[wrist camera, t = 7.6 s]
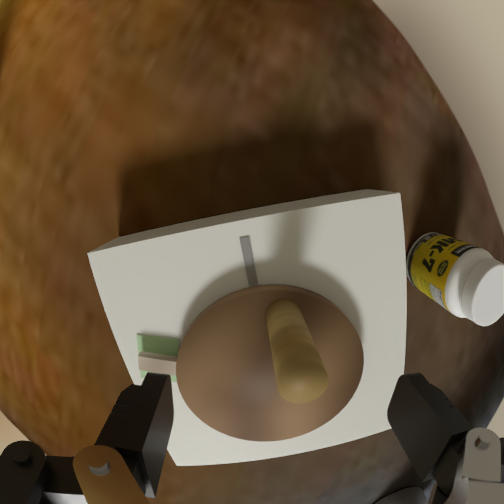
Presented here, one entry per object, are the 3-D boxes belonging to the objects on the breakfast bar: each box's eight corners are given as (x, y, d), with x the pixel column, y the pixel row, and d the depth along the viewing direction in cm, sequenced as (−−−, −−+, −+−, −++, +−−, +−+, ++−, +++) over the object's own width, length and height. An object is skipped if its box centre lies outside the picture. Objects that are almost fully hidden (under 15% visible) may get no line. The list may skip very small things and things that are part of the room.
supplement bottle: (436, 219, 21) (508, 240, 13) (457, 263, 22) (523, 296, 14) (394, 257, 22) (458, 295, 14) (418, 300, 23) (478, 347, 15)
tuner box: (377, 391, 25) (397, 426, 20) (184, 426, 25) (176, 466, 20) (367, 189, 21) (400, 192, 16) (118, 237, 21) (86, 253, 16)
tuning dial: (377, 291, 17) (441, 351, 10) (334, 431, 19) (359, 504, 12) (139, 269, 16) (81, 326, 9) (147, 419, 19) (122, 495, 12)
